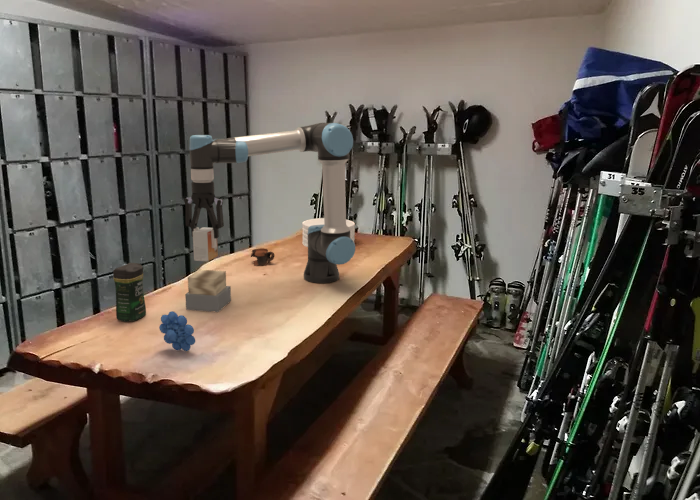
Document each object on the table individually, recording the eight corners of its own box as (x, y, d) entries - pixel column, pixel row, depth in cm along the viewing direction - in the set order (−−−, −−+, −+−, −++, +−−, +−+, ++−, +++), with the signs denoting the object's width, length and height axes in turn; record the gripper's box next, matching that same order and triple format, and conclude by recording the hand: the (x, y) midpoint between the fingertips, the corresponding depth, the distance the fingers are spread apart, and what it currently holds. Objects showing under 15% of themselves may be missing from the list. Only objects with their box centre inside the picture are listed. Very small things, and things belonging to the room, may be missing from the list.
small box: (208, 262, 187) (207, 232, 184) (193, 260, 188) (192, 231, 186) (218, 256, 195) (217, 227, 192) (204, 255, 196) (202, 226, 193)
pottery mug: (247, 266, 246) (246, 249, 249) (257, 270, 255) (256, 254, 257) (271, 262, 243) (270, 244, 245) (280, 266, 252) (279, 249, 254)
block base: (231, 301, 201) (230, 286, 199) (218, 312, 189) (217, 296, 188) (200, 299, 202) (199, 283, 201) (186, 310, 191) (185, 294, 189)
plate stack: (305, 237, 305) (305, 217, 302) (355, 238, 304) (355, 218, 302) (299, 249, 278) (299, 227, 275) (353, 250, 277) (354, 229, 275)
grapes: (152, 353, 156) (149, 314, 153) (166, 344, 162) (163, 306, 159) (186, 359, 153) (184, 319, 150) (200, 350, 159) (198, 311, 156)
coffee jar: (133, 323, 177) (129, 269, 173) (112, 321, 179) (107, 267, 174) (150, 313, 186) (146, 261, 182) (130, 311, 188) (125, 260, 183)
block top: (226, 286, 198) (225, 271, 197) (215, 295, 189) (214, 279, 187) (200, 284, 200) (199, 269, 198) (188, 293, 190) (187, 277, 189)
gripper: (232, 180, 187) (234, 245, 193) (182, 178, 190) (185, 242, 195) (224, 183, 180) (226, 250, 185) (171, 181, 182) (175, 247, 188)
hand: (205, 246), depth 190 cm, fingers closed on small box, 6 cm apart
